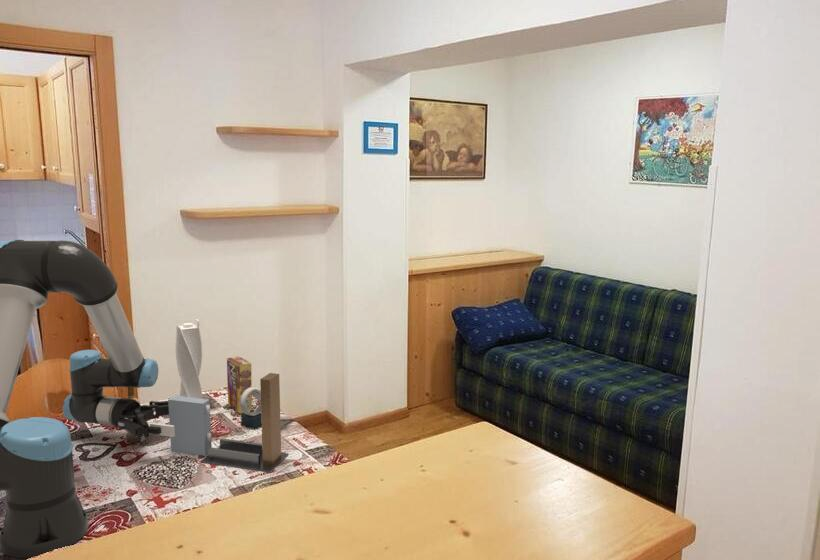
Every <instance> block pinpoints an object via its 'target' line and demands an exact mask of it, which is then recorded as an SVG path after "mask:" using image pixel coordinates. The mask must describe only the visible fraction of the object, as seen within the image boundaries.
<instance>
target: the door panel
mask: <svg viewBox="0 0 820 560" xmlns="http://www.w3.org/2000/svg"><path fill="white" fill-rule="evenodd" d="M167 401H168V405H169V415H168V419H169V425H174V426H175V436H174V437H169V439H170V451H171V452H176V453H182V454H189V455H197V456H203V457H206V456H208V448H210V447H211V448H213V447H212V428H211V427H212V426H211V403H210V399H208V398H207V399H206V398H203V399H200V398H192V397H183V396H180V395H174V396H172V397H171V398H168V400H167Z"/></svg>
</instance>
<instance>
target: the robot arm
mask: <svg viewBox="0 0 820 560" xmlns="http://www.w3.org/2000/svg"><path fill="white" fill-rule="evenodd" d="M118 285H119V284H118V282H117V280H116V278H115V276H114V273H113V272H112V270H111V269H110V267H109V266H108V265H107V264H106V263H105V261H103V259H102V258H100V257H99V255H97V254H96V253H95V252H94V251H92V250H91V249H89V248H87V247H85V246H84V245H82V244H80V243H77V242H74V241H71V240H25V239H13V240H2V241H0V491H5V496H6V504H7V505H6V506H7V509H6V513H5V517H4V521H3V527H2V529H1V531H0V549H1V551H2V553H4V554H5V555H6V556H9V557H11V558H17V559H31V558H30V557H33V556H38V555H40V554H43V553H46V552H49V551H52V550H54V549H58V548H62V547H65V546H69V545H71V546H72V544H73V545H74V544H76V543H77V542H78V541H80V540H81V539H82V538H83V537H84V536H86V533H87V532H88V529H89V520H88V515H87V512H86V511H85V509H84V508H83V507H84V506H83V505H82V503H81V500H80V499H79V497H78V495H77V493H76V484H75V471H74V456H73V448H74V447H73V443H72V437H71V432H70V429H69V427H68V426H67V425H66V424H65V423H64V422H62V421H60V420H58V419H55V418H52V417H51V418H50V417H43V416H33V417H32V416H30V417H29V418H19V419H15V420H12V421H11V420H10V419H9V418H8V416H7V410H8V406H9V403H10V401H11V396H12V394H13V391H14V386H15V383H16V379H17V377H18V374H19V369H20V365H21V363H22V359H23V356H24V352H25V349H26V345H27V342H28V338H29V336H30V335H29V334H30V331H31V328H32V326H33V325H32V324H33V321H34V318H35V314H36V311H37V309H40V308H42V307H44V306H45V305H46V304H47V300H48V297H49V294H50V293H66V294H69V295H71V296H73V298H74V300H75V302H76V303H77V304H79V305H81V306H83V308H84V309H85V312H86V314H87V316H88V318H89V320H90V322H91V324H92V326H93V328H94V330H95V332H96V334H97V336H98V338H99V340H100V342H101V344H102V346H103V348H104V350H105V352H106V354H107V356H108V358H102V355H101V353H100V351H98V350H97V349H84V350H83V349H82V350H79V351H76V352H73V353H71V355H70V356H69V376H70V386H71V393H70V394H69V395H67V396H66V397H65V399H64V400H63V406H62V413H63V415H64V417H65V418H66V419H68V420H70V421H75V422H78V423H80V424H81V423H84V424H85V423H87V424H96V425H97V424H98V425H101V426H102V425H104V426H109V427H111V428H113V427H117V428H118V429H119V430H124V431H126V432H128V433H130V434H131V435H133V436H135V437H136V438H139V439H140V438H142V437H143V436H144V437H143V438H144V439H148V438H149V437H150V435H155V436H163V437H169V438H170V437H174V436H175V426H174V425H170V424H164V423H159V422H150V423H148V421H149V420H152V419H158V418H159V417H162V416H169V405H168V400H165V401H153V400H151V401H149V405H147V404H143V405H141V403H140V404H139V403H138V402H137V401H136V400H134V399H127V398H125V397H124V398H123V397H120V396H119V397H118V396H108V395H104V388H128V387H133V388H137V389H140V388H151V387H153V386H154V385H155V384H156V383H157V380H158V377H159V365H158V362H157V361H156V360H155V359H151V358H145V356H144V355H143V353H142V351H141V348H140V346H139V344H138V342H137V339H136V337H135V334H134V332H133V330H132V328H131V324H130V322H129V320H128V317H127V315H126V314H125V313H126V312H125V311H124V308H123V306H122V303H121V301H120V299H119V296H118V294H117V293H118V289H119V286H118ZM69 547H70V546H69ZM33 558H34V557H33Z"/></svg>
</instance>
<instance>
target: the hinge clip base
mask: <svg viewBox="0 0 820 560" xmlns="http://www.w3.org/2000/svg"><path fill="white" fill-rule="evenodd" d="M259 380H260V381H259V382H260V383H259V385H260V389H261V405H260V406H261V423H262V427H261V443H259V442H253V441H252V442H251V441H243V440H236V439H228V438H221V439H219V447H217V448H216V447H212V448H211V447H210V448H208V454H207V455H206V456H204V458H202V459H201V460H200V463H203V464H208V465H215V466H216V465H219V466H223V467H231V468H238V469H244V470H250V471H251V470H252V471H258V472H263V473H264V472H266V473H271V472H272V471H273V470H274V469H275V468H277V466H278V465H279V464H280V463H282V462H283V461H284V460H285V458H287V457H288V456H289V453H287V452H282V440H281V439H282V436H281V435H282V433H281V429H282V428H281V393H280V391H281V389H280V373H273V372H269V373H267V374H266V375H264V376H263V377H262V378H260V379H259Z"/></svg>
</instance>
